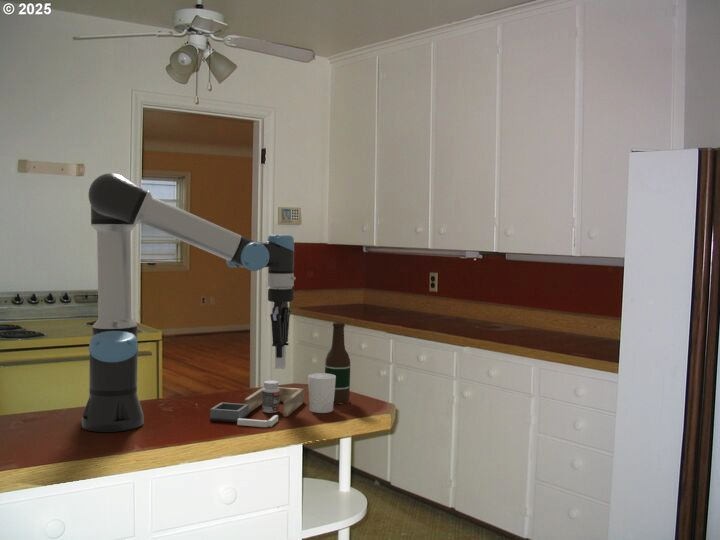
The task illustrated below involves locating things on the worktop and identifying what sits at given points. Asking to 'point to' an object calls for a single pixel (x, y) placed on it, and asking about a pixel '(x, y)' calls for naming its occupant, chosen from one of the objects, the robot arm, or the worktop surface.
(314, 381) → the white cup
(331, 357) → the beer bottle
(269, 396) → the pill bottle
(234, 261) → the robot arm
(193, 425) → the worktop surface
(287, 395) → the cubby
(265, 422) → the white l-shaped block
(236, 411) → the bin
